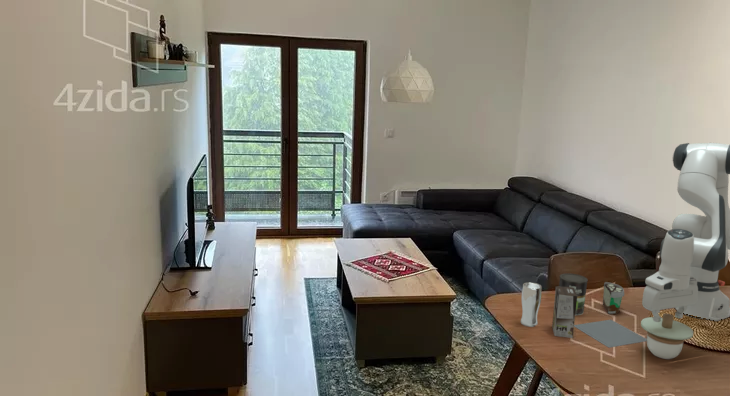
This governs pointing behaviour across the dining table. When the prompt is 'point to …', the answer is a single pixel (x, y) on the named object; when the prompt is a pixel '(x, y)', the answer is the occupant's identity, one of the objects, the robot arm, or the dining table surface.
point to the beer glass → (530, 303)
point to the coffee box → (564, 311)
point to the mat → (610, 333)
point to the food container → (612, 297)
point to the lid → (667, 328)
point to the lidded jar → (664, 346)
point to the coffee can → (575, 288)
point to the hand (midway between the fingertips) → (667, 319)
